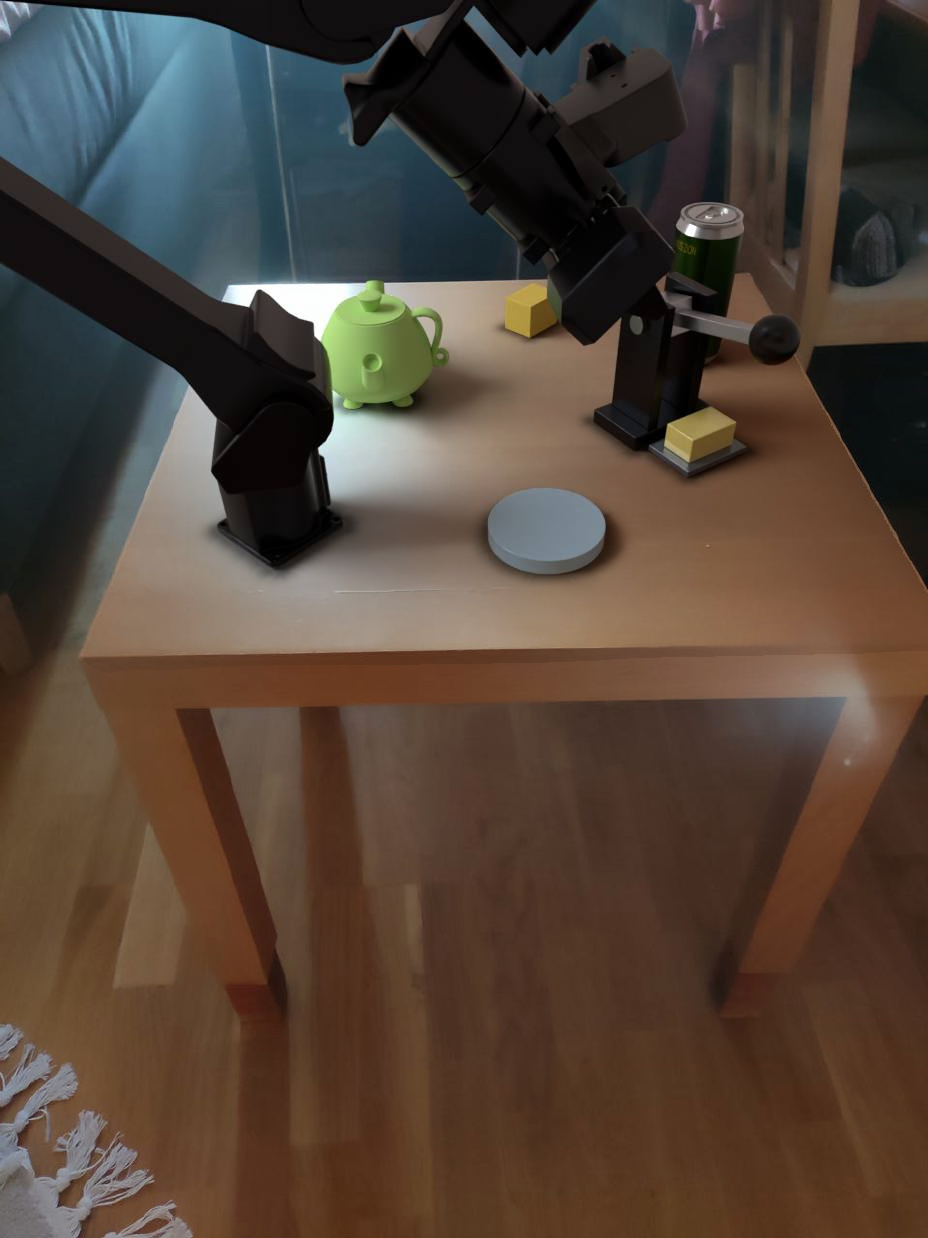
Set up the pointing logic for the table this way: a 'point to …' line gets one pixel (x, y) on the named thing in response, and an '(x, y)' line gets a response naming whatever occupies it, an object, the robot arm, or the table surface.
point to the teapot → (380, 348)
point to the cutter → (657, 371)
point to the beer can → (709, 253)
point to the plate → (546, 530)
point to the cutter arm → (740, 330)
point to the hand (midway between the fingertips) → (661, 312)
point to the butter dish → (698, 464)
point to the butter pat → (529, 311)
